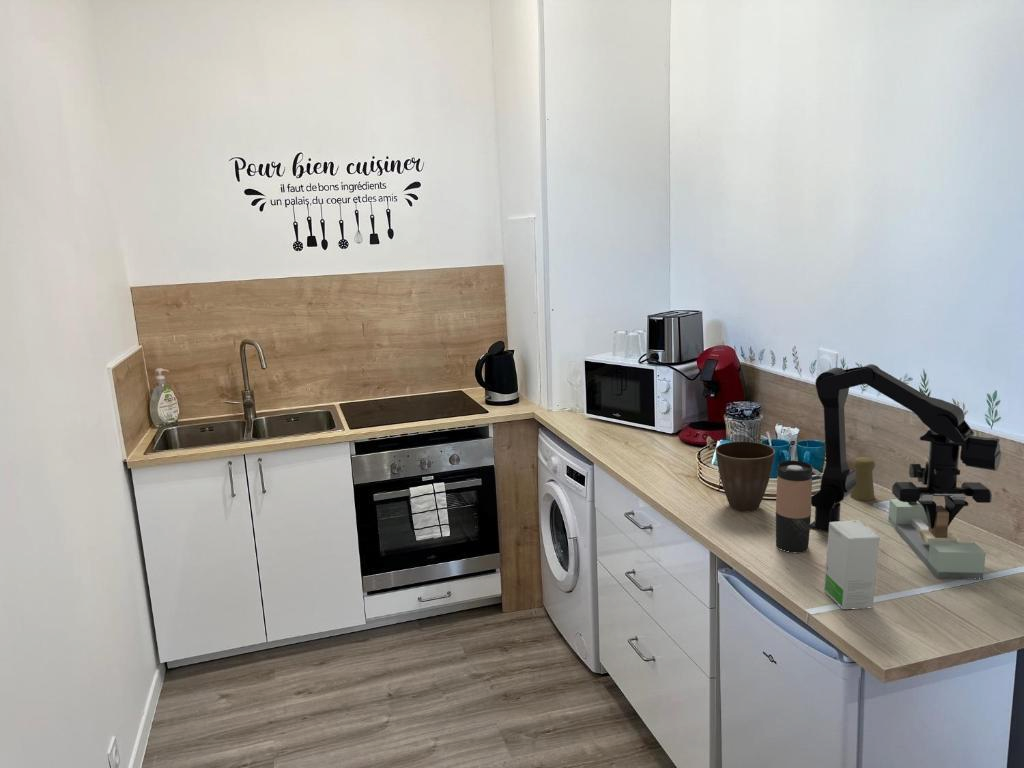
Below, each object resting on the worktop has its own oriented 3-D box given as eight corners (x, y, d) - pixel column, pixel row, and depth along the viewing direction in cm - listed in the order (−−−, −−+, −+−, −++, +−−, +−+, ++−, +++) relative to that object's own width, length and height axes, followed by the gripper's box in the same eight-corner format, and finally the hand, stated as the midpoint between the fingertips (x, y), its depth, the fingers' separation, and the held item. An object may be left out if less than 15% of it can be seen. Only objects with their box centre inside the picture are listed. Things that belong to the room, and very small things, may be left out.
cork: (877, 501, 202) (879, 462, 200) (852, 500, 203) (855, 461, 201) (871, 493, 208) (873, 454, 206) (847, 492, 209) (849, 454, 207)
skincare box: (823, 591, 157) (826, 521, 154) (853, 588, 158) (857, 518, 154) (843, 611, 149) (848, 538, 145) (876, 609, 149) (881, 535, 146)
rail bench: (983, 579, 159) (985, 552, 158) (937, 578, 160) (939, 552, 159) (926, 522, 188) (928, 499, 187) (888, 521, 189) (889, 499, 188)
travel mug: (808, 541, 180) (812, 461, 176) (810, 555, 173) (813, 472, 169) (774, 538, 183) (777, 459, 178) (774, 551, 176) (777, 469, 171)
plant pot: (742, 522, 193) (744, 462, 189) (703, 504, 206) (703, 447, 202) (785, 509, 200) (787, 451, 196) (744, 492, 213) (745, 438, 209)
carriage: (956, 545, 168) (958, 513, 166) (927, 544, 169) (929, 513, 167) (946, 535, 173) (949, 504, 171) (918, 535, 174) (920, 504, 172)
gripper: (972, 450, 173) (967, 514, 177) (886, 450, 176) (882, 513, 179) (995, 466, 163) (989, 534, 166) (903, 466, 165) (898, 533, 169)
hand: (938, 528), depth 170 cm, fingers closed on carriage, 2 cm apart
